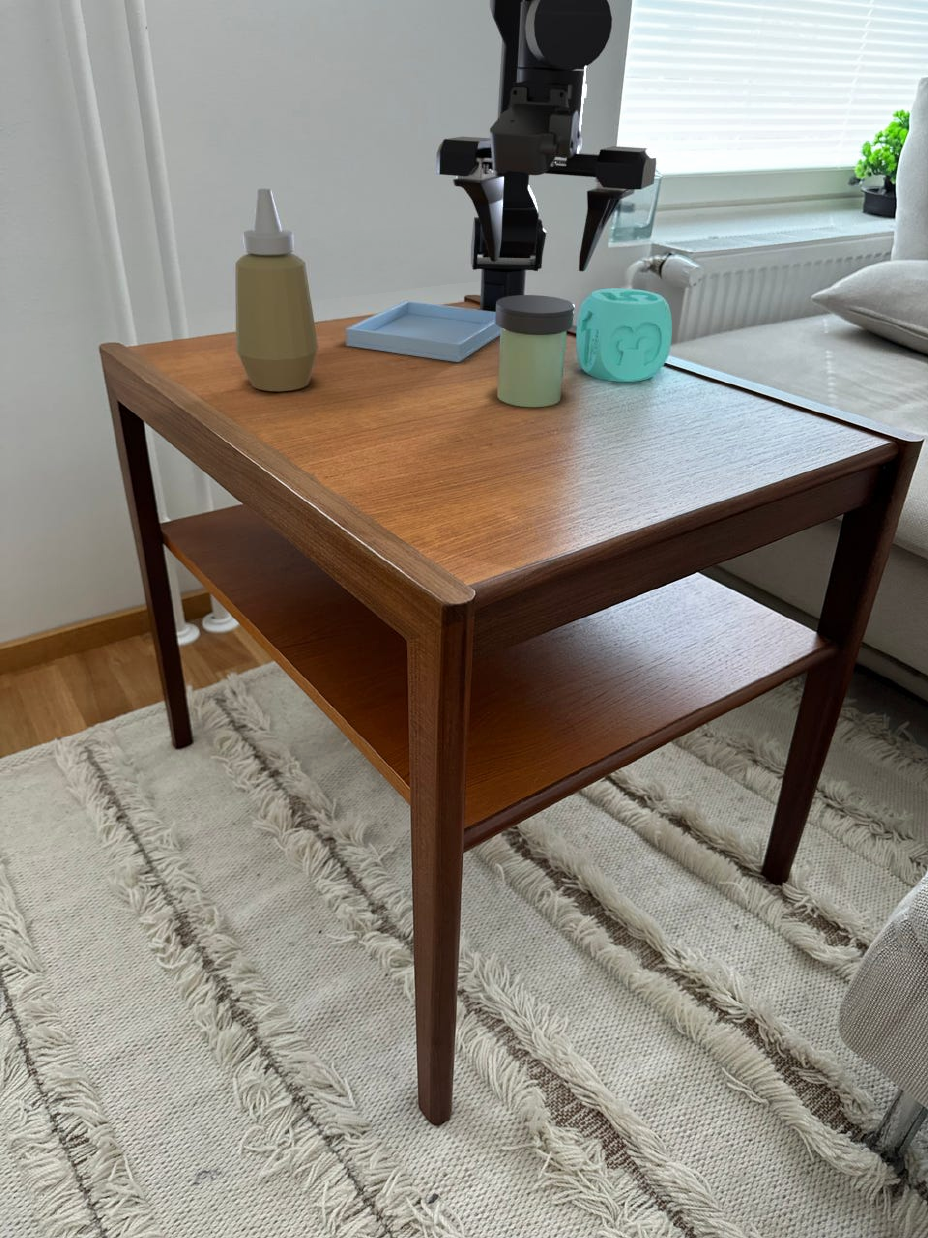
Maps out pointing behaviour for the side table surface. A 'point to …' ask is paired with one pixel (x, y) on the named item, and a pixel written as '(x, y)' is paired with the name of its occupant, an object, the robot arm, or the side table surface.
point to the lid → (534, 314)
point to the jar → (530, 368)
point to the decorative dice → (623, 334)
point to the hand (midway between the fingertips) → (537, 265)
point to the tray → (425, 331)
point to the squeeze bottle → (273, 305)
